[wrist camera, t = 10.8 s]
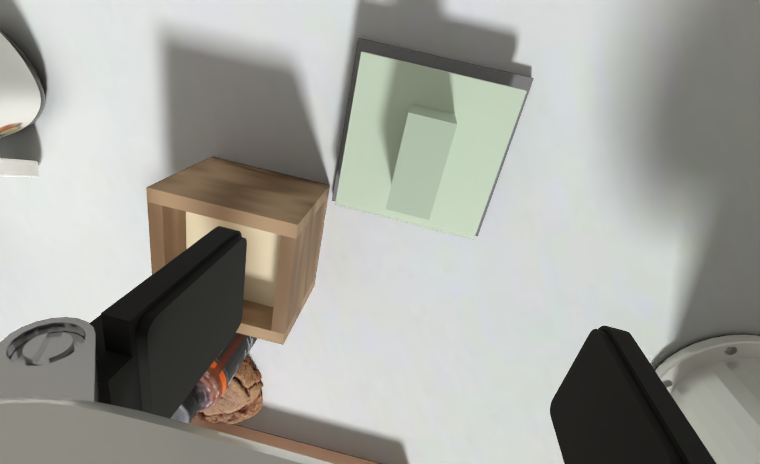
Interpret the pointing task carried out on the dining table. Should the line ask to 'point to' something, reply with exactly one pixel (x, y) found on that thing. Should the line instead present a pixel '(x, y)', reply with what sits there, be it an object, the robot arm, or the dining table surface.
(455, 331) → the dining table surface
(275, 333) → the box
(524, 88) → the mat
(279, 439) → the wooden tray
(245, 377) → the cookie
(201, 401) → the supplement bottle
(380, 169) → the lid
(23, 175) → the spread jar
